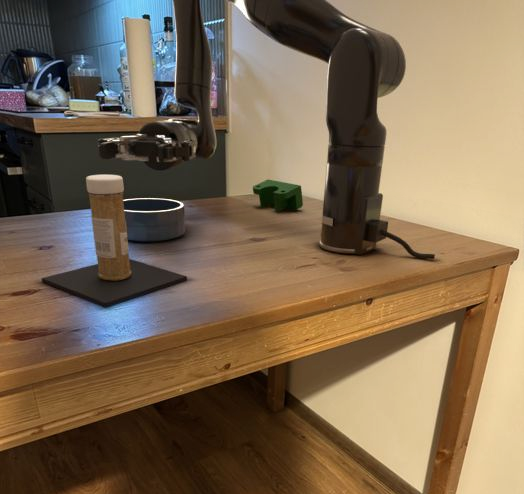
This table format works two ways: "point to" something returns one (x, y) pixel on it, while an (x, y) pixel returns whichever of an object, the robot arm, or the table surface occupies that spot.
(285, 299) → the table surface
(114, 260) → the sprinkles bottle
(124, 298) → the mat
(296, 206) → the clamp
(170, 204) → the bowl
